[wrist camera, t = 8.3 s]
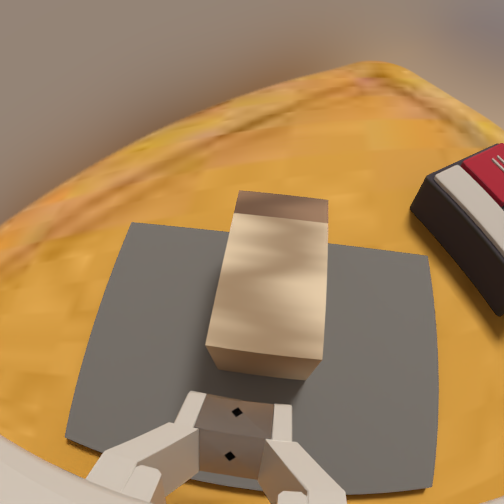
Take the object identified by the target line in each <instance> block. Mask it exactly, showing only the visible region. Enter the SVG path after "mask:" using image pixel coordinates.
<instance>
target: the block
mask: <svg viewBox="0 0 504 504" xmlns="http://www.w3.org/2000/svg"><path fill="white" fill-rule="evenodd" d="M327 260H328V200H323V199H315V198H307V197H298V196H290V195H281V194H271V193H261V192H251V191H240V190H239V194H238V198H237V202H236V207H235V211H234V215H233V220H232V224H231V228H230V233H229V237H228V241H227V246H226V250H225V255H224V259H223V264H222V268H221V273H220V278H219V282H218V287H217V291H216V296H215V301H214V305H213V310H212V315H211V319H210V324H209V329H208V334H207V339H206V344H205V346H206V348H207V349H208V351H209V353H210V355H211V357H212V359H213V361H214V363H215V365H216V366H217V368H218V369H219V370H225V371H231V372H238V373H245V374H252V375H260V376H268V377H276V378H285V379H295V380H307V378H308V377H309V376H310V375H311V373H312V372H313V371H314V370H315V368H316V367H317V366H318V365H319V363H320V362H321V361H322V357H323V344H324V329H325V311H326V290H327Z"/></svg>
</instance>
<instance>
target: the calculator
mask: <svg viewBox="0 0 504 504" xmlns="http://www.w3.org/2000/svg"><path fill="white" fill-rule="evenodd" d="M410 210H411V211H412V212H413V213H414V215H415V216H416V217H417V218H418V219H419V220H420V221H421V222H422V223H423V224H424V225H425V227H426V228H427V229H428V230H429V231H430V232H431V233H432V234H433V236H434V237H435V238H436V239H437V240H438V241H439V242H440V244H441V245H442V246H443V247H444V248H445V249H446V251H447V252H448V253H449V254H450V255H451V257H452V258H453V259H454V260H455V261H456V263H457V264H458V265H459V266H460V268H461V269H462V270H463V271H464V273H465V274H466V275H467V276H468V278H469V279H470V280H471V281H472V283H473V284H474V285H475V287H476V288H477V289H478V291H479V292H480V293H481V295H482V296H483V297H484V299H485V300H486V301H487V303H488V304H489V305H490V307H491V308H492V310H493V311H494V312H495V314H496V315H497V316H502V315H503V314H504V144H503V143H500V144H495V145H493V146H490V147H488V148H486V149H484V150H482V151H479V152H477V153H475V154H473V155H471V156H469V157H466V158H464V159H462V160H460V161H458V162H455V163H453V164H451V165H449V166H447V167H444V168H442V169H440V170H438V171H436V172H433V173H431V174H429V175H427V176H426V178H425V180H424V182H423V183H422V185H421V187H420V189H419V191H418V193H417V195H416V197H415V199H414V200H413V202H412V204H411V206H410Z"/></svg>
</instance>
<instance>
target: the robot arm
mask: <svg viewBox="0 0 504 504" xmlns="http://www.w3.org/2000/svg"><path fill="white" fill-rule="evenodd" d="M199 471H204V472H210V473H216V474H223V475H230V476H235V477H241V478H248V479H254V480H258V483H259V485H260V486H261V488H262V490H263V491H264V493H265V495H266V496H267V498H268V500H269V501H270V503H271V504H347V500H346V493H345V491H344V490H343V489H342V488H341V487H340V486H339V485H338V484H337V483H336V482H335V481H334V480H333V479H332V478H331V477H330V476H329V475H328V474H327V473H326V472H325V471H324V470H323V469H322V468H321V467H320V466H319V465H318V464H317V463H316V461H315V460H314V459H313V458H312V457H311V456H310V455H309V454H308V453H307V452H306V451H305V450H304V449H303V448H302V447H301V446H300V444H299V443H298V442H292V406H291V405H287V404H269V403H261V402H253V401H245V400H239V399H234V398H228V397H222V396H217V395H212V394H206V393H201V392H196V391H190V392H189V393H188V394H187V397H186V399H185V401H184V403H183V405H182V407H181V409H180V411H179V413H178V415H177V418H176V420H175V422H174V423H170V422H168V423H166V424H164V425H162V426H160V427H158V428H156V429H154V430H151V431H149V432H147V433H145V434H143V435H140V436H138V437H136V438H134V439H132V440H129V441H127V442H125V443H122V444H120V445H118V446H115V447H113V448H110V449H108V450H106V451H104V452H103V454H102V455H101V457H100V458H99V460H98V461H97V463H96V464H95V466H94V467H93V469H92V470H91V472H90V473H89V475H88V476H87V478H86V479H83V478H81V477H79V476H77V475H74V474H72V473H70V472H68V471H66V470H64V469H61V468H59V467H57V466H55V465H53V464H51V463H49V462H47V461H45V460H43V459H42V458H40V457H38V456H36V455H34V454H32V453H30V452H29V451H27V450H25V449H23V448H22V447H20V446H18V445H17V444H15V443H13V442H12V441H10V440H8V439H7V438H5V437H3V436H2V435H0V504H166V500H165V497H166V496H167V495H168V494H170V493H171V492H173V491H174V490H175V489H177V488H178V487H180V486H181V485H182V484H184V483H185V482H186V481H188V480H189V479H190V478H192V477H193V476H194V475H196V474H197V473H198V472H199ZM480 504H504V496H501V497H499V498H496V499H493V500H490V501H487V502H483V503H480Z"/></svg>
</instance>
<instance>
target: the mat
mask: <svg viewBox="0 0 504 504" xmlns="http://www.w3.org/2000/svg"><path fill="white" fill-rule="evenodd" d="M229 233H230V232H223V231H214V230H204V229H194V228H185V227H175V226H165V225H155V224H144V223H134V222H132V223H131V225H130V228H129V230H128V232H127V235H126V237H125V240H124V242H123V245H122V247H121V250H120V252H119V255H118V257H117V260H116V263H115V265H114V268H113V271H112V273H111V276H110V279H109V281H108V284H107V287H106V290H105V293H104V295H103V298H102V301H101V304H100V307H99V310H98V313H97V316H96V319H95V322H94V325H93V329H92V332H91V335H90V338H89V342H88V345H87V348H86V352H85V355H84V359H83V362H82V366H81V370H80V373H79V377H78V381H77V385H76V389H75V393H74V397H73V401H72V405H71V410H70V414H69V419H68V423H67V428H66V433H65V438H67V439H70V440H72V441H74V442H77V443H79V444H82V445H84V446H86V447H89V448H91V449H94V450H97V451H99V452H102V453H103V452H104V451H106V450H108V449H110V448H113V447H115V446H118V445H120V444H122V443H125V442H127V441H129V440H132V439H134V438H136V437H138V436H140V435H143V434H145V433H147V432H149V431H151V430H154V429H156V428H158V427H160V426H162V425H164V424H166V423H168V422H170V423H174V422H175V420H176V418H177V415H178V413H179V411H180V409H181V407H182V405H183V403H184V401H185V399H186V397H187V394H188V393H189V392H190V391H196V392H201V393H206V394H212V395H217V396H222V397H228V398H234V399H239V400H245V401H253V402H261V403H269V404H287V405H291V406H292V442H298V443H299V444H300V446H301V447H302V448H303V449H304V450H305V451H306V452H307V453H308V454H309V455H310V456H311V457H312V458H313V459H314V460H315V461H316V463H317V464H318V465H319V466H320V467H321V468H322V469H323V470H324V471H325V472H326V473H327V474H328V475H329V476H330V477H331V478H332V479H333V480H334V481H335V482H336V483H337V484H338V485H339V486H340V487H341V488H342V489H343V490H344V491H345V493H346V495H353V494H374V493H388V492H398V491H407V490H415V489H423V488H429V487H432V483H433V475H434V467H435V457H436V445H437V429H438V396H439V382H438V349H437V332H436V320H435V309H434V299H433V291H432V283H431V275H430V268H429V262H428V256H425V255H417V254H410V253H402V252H394V251H386V250H378V249H370V248H362V247H354V246H346V245H338V244H329V243H328V260H327V290H326V311H325V329H324V344H323V357H322V361H321V362H320V363H319V365H318V366H317V367H316V368H315V370H314V371H313V372H312V373H311V375H310V376H309V377H308V378H307V380H295V379H285V378H276V377H268V376H260V375H252V374H245V373H238V372H231V371H225V370H219V369H218V368H217V366H216V365H215V363H214V361H213V359H212V357H211V355H210V353H209V351H208V349H207V348H206V346H205V344H206V339H207V334H208V329H209V324H210V319H211V315H212V310H213V305H214V301H215V296H216V291H217V287H218V282H219V278H220V273H221V268H222V264H223V259H224V255H225V250H226V246H227V241H228V237H229ZM190 479H194V480H198V481H203V482H208V483H213V484H219V485H225V486H231V487H237V488H244V489H252V490H260V491H263V490H262V488H261V486H260V485H259V483H258V480H254V479H248V478H241V477H235V476H230V475H223V474H216V473H210V472H204V471H199V472H198V473H197V474H196V475H194V476H193V477H192V478H190Z"/></svg>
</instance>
